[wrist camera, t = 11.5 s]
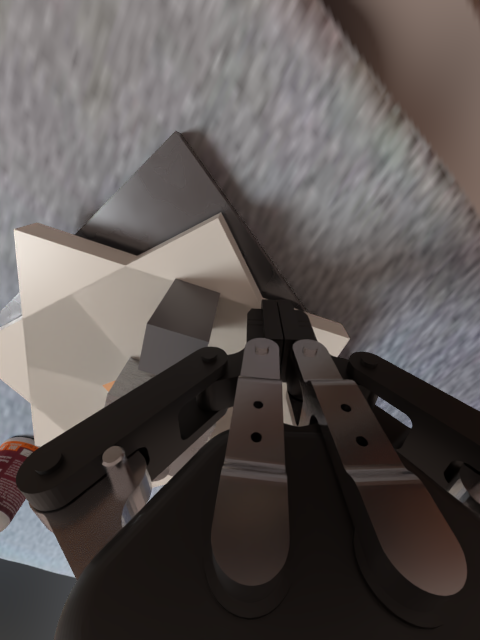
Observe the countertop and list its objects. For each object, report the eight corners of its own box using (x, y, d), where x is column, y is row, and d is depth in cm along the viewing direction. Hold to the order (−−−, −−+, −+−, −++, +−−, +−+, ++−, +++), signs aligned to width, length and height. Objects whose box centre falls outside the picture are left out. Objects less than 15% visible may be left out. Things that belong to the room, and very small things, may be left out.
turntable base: (366, 395, 22) (371, 405, 21) (173, 477, 29) (171, 487, 28) (180, 132, 13) (175, 131, 12) (-28, 344, 20) (-40, 352, 19)
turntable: (265, 499, 28) (269, 576, 23) (6, 443, 24) (-60, 519, 19) (433, 291, 15) (527, 358, 10) (-58, 108, 12) (-305, 65, 6)
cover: (220, 387, 17) (212, 452, 14) (192, 438, 20) (178, 504, 16) (129, 357, 16) (92, 417, 12) (113, 416, 19) (79, 480, 15)
